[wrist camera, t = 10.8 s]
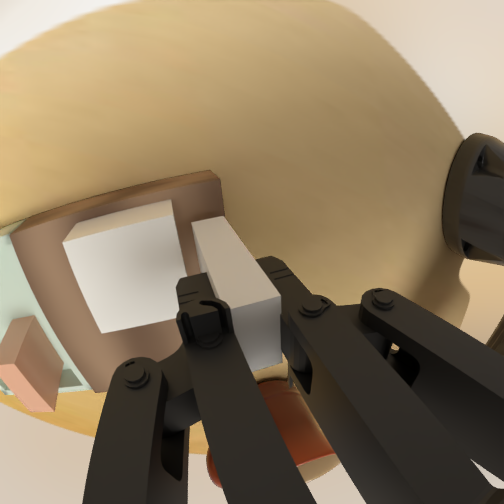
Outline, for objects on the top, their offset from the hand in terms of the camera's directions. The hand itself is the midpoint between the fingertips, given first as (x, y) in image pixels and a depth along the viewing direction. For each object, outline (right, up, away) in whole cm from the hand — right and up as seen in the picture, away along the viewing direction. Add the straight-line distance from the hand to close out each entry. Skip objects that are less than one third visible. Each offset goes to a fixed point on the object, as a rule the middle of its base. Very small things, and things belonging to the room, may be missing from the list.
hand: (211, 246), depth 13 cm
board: (-6, -3, +4) cm, 8 cm away
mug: (+1, -16, +14) cm, 21 cm away
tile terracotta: (-13, -8, +1) cm, 15 cm away
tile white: (-4, 0, 0) cm, 4 cm away
